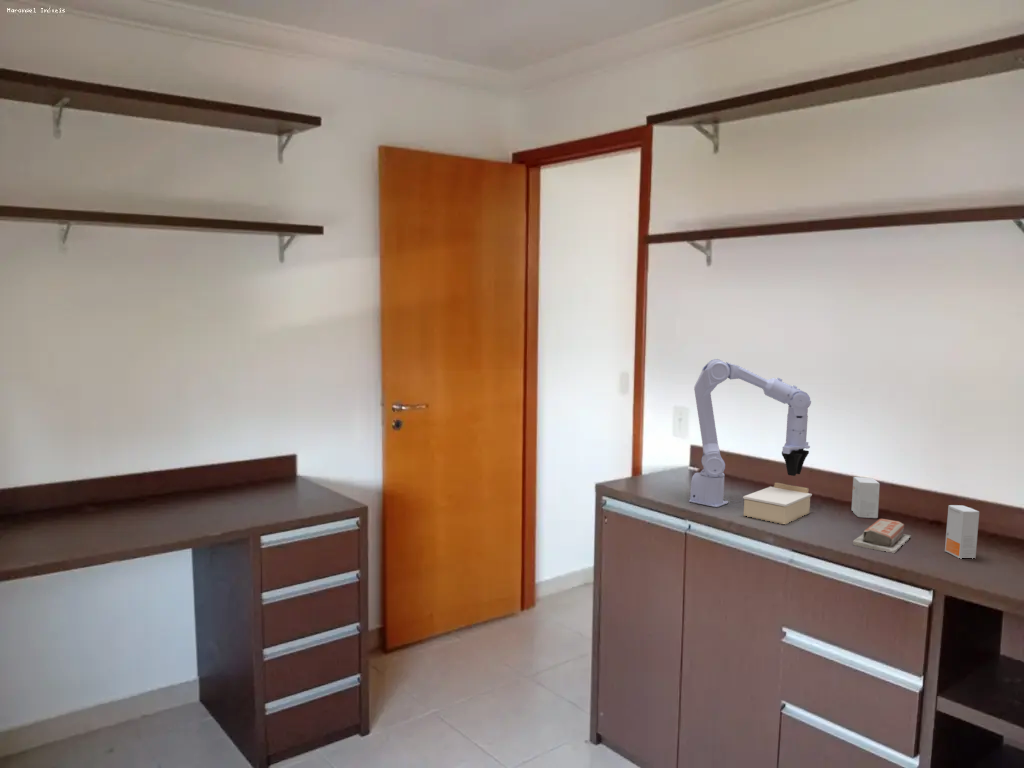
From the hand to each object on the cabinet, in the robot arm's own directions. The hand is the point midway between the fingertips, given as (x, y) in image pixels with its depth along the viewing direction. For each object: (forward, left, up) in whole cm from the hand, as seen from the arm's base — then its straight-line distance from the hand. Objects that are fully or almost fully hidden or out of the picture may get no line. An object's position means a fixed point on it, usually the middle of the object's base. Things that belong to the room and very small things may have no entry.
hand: (794, 474), depth 231 cm
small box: (+18, +9, -11) cm, 23 cm away
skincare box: (+48, -14, -11) cm, 51 cm away
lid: (0, -11, -5) cm, 12 cm away
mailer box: (0, -11, -10) cm, 15 cm away
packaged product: (+30, -16, -11) cm, 36 cm away
